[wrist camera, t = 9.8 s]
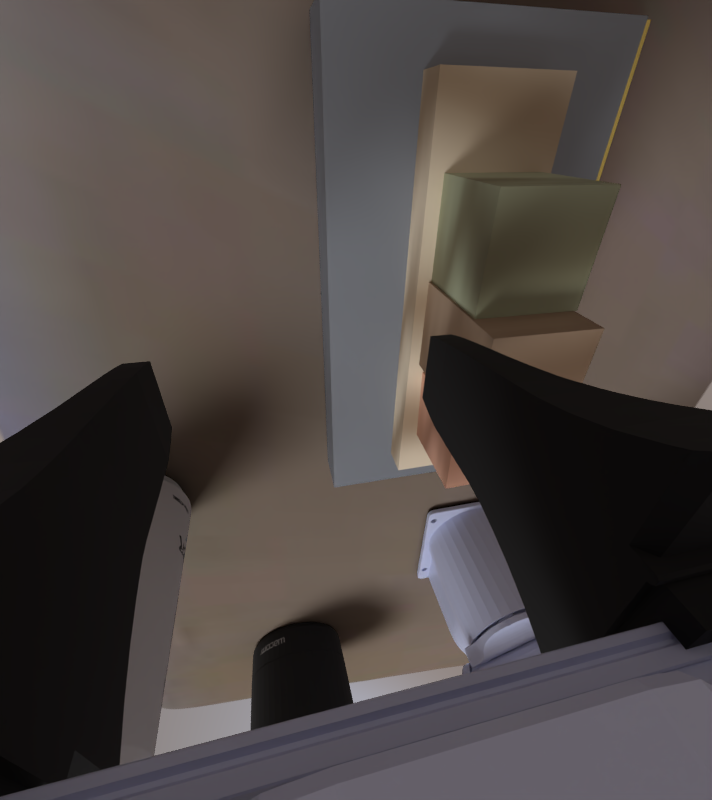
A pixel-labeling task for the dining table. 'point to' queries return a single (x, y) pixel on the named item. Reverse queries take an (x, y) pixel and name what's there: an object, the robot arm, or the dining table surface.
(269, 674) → the pen holder
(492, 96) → the board
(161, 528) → the energy drink can
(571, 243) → the block
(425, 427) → the block
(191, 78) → the dining table surface
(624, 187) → the dining table surface
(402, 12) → the dock
